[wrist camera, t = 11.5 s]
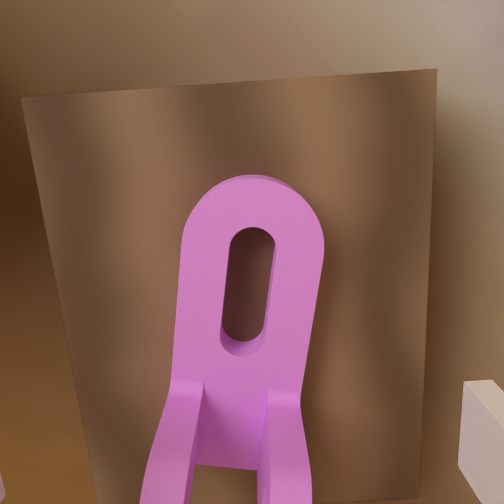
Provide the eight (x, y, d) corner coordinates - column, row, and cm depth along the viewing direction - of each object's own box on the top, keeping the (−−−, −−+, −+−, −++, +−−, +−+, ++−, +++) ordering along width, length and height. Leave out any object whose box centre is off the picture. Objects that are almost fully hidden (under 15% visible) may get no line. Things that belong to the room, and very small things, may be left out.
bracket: (285, 452, 22) (299, 596, 15) (169, 440, 22) (132, 581, 15) (329, 183, 18) (372, 216, 12) (191, 166, 18) (156, 191, 12)
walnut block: (126, 447, 28) (100, 514, 23) (70, 103, 22) (20, 97, 18) (389, 432, 27) (418, 498, 23) (397, 80, 22) (437, 68, 17)
